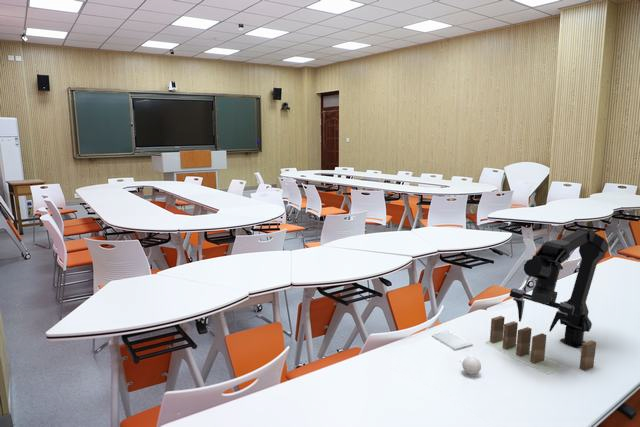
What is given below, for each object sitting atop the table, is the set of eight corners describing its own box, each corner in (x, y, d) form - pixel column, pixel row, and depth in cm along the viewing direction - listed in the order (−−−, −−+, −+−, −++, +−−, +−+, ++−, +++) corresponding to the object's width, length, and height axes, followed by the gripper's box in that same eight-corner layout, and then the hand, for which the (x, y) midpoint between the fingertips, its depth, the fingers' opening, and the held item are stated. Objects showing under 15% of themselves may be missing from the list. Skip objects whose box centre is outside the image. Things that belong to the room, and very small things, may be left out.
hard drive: (431, 334, 167) (455, 348, 156) (448, 330, 171) (473, 343, 160) (431, 338, 167) (455, 353, 156) (448, 334, 171) (472, 347, 160)
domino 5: (579, 369, 144) (582, 343, 143) (588, 365, 147) (591, 340, 145) (584, 371, 143) (587, 345, 141) (593, 367, 145) (596, 342, 144)
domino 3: (515, 354, 153) (517, 330, 152) (525, 351, 156) (527, 327, 154) (519, 356, 152) (522, 331, 150) (529, 353, 154) (531, 328, 153)
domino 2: (502, 348, 158) (504, 324, 156) (511, 344, 160) (513, 321, 159) (506, 350, 157) (508, 325, 155) (515, 346, 159) (517, 322, 157)
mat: (501, 337, 167) (501, 336, 167) (565, 368, 145) (565, 367, 145) (484, 343, 163) (484, 342, 162) (547, 375, 141) (548, 374, 141)
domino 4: (530, 361, 149) (532, 336, 147) (539, 358, 151) (542, 333, 149) (534, 364, 147) (536, 338, 146) (544, 360, 150) (546, 335, 148)
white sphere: (483, 373, 142) (484, 357, 141) (475, 380, 138) (476, 363, 137) (461, 364, 147) (462, 348, 146) (452, 371, 144) (453, 355, 143)
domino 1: (489, 341, 163) (491, 318, 161) (499, 338, 165) (500, 315, 164) (493, 343, 161) (495, 320, 160) (502, 340, 164) (504, 317, 162)
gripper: (512, 271, 145) (500, 318, 145) (577, 289, 135) (564, 339, 135) (518, 272, 154) (506, 316, 154) (579, 289, 144) (566, 335, 144)
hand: (534, 326), depth 147 cm, fingers open, 9 cm apart
